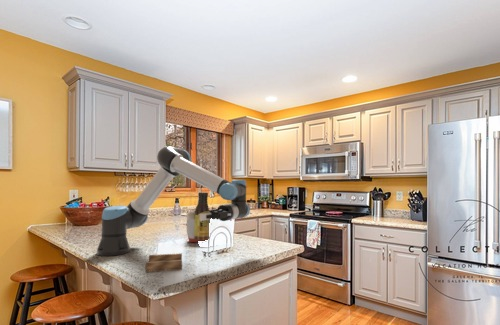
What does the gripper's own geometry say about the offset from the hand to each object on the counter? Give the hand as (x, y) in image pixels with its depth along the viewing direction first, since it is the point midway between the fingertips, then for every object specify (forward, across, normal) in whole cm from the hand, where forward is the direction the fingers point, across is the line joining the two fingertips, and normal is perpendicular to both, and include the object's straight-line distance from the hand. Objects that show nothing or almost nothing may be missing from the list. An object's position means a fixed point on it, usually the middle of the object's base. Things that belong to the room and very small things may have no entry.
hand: (193, 216), depth 116 cm
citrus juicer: (-48, +39, -22) cm, 66 cm away
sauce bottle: (-5, 0, -10) cm, 11 cm away
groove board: (+1, +16, -22) cm, 27 cm away
